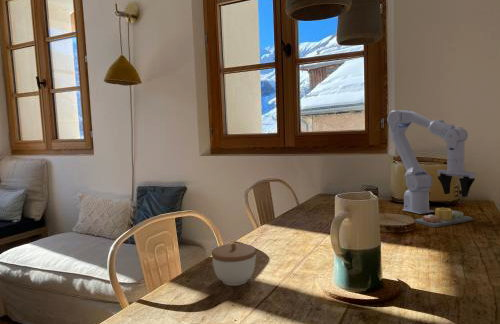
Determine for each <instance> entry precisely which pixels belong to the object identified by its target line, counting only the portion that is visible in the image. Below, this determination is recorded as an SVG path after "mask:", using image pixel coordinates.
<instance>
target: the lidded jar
mask: <svg viewBox="0 0 500 324" xmlns="http://www.w3.org/2000/svg"><path fill="white" fill-rule="evenodd" d="M256 254H257V251H256V248H255V247H254V246H253V245H251V244H248V243H247V244H246V243H236V242H231V243H228V244H223V245H218V246H217V247H215V248H213V249H212V250H211V258H212V267H213V270H214V273H215V275H216V276H217V278H218V279H219V280H220V281H222V283H223V284H224V285H225V286H230V287H231V286H232V287H234V286H241V285H245V284H246V283H247V282H248V280H250V278H251V276H252V275H253V273H254V272H255V269H256V268H255V266H256Z"/></svg>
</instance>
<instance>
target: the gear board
mask: <svg viewBox="0 0 500 324" xmlns="http://www.w3.org/2000/svg"><path fill="white" fill-rule="evenodd" d="M473 218H474V217H471V216H468V215H467V216H466V215H465V213H464V212H462V211H458V210H452V219H451V220H440V217H438V216H435V214H428V215H424V214H423V216H422V217H421V218H415V219H414V220H413V222H414V221H415V222H414V223H415V224H419V225H424V226H427V227H430V228H431V227H432V228H438V227H445V226H449V225H454V224H459V223H465V222H470V221H474V220H473Z"/></svg>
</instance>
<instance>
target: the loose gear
mask: <svg viewBox="0 0 500 324" xmlns="http://www.w3.org/2000/svg"><path fill="white" fill-rule="evenodd" d="M452 211H453V209H451V208H449V207H436V208H435V209H434V216H438V217H440V220H451V219H452Z"/></svg>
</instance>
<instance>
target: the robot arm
mask: <svg viewBox="0 0 500 324" xmlns="http://www.w3.org/2000/svg"><path fill="white" fill-rule="evenodd" d="M386 121H387V123H388V126H389V127H388V128H389V135H390V137H391V140H392V142H393V144H394V146H395V148H396V150H397V153H398V155H399V157H400V159H401V162H402V163H403V165H404V168H405V170H406V172H405V174H404V178H405V185H406V187H407V190H405V192H404V194H403V209H402V211H405V212H409V213H413V214H417V215H418V214H419V215H424V214H429V213H435V210H432V209H430V203H429V190H430V191H431V187H432V186H433V181H434V180H433V178H432V176H431V175H430V174H429V173H428V172H427V170H426V169H425V168H424V167H422V166H421V165H420V163H419V161H418V159H417V157H416V155H415V153H414V151H413V149H412V146H411V144H410V143H409V140H408V138H407V136H406V131H407V130H408V128H409V127H410V126H411V124H412V123H413V124H416V125H419V126H422V127H424V128H426V129H428V130H429V133H430V134H431V135H432V134H433V135H434V136H437V137H439V138H441V139H443V140H444V141H445V142H446V152H447V153H446V154H447V155H446V160H447V161H446V169H437V175H438V176H437V179H438V180H439V182H440V184H441V187H442V190H443V193H444V195H450V193H451V183H452V179H453V177H459V178H458V181H459V184H460V188H461V189H460V191H461V192H460V193H461V197H462V198H466V197H468V195H469V192H470V188H471V186H472V185H473V184H474V182H475V180H476V172H471V171H467V170H466V171H465V142H466V140H467V139H468V137H469V135H468V131H467V130H466V129H465V128H464V127H461V126H459V127H456V126H455V125H456V124H449V123H448V122H445V120H444V119H441V118H440V119H435V120H431V119H430V118H428V117H426V116H424V115H422V114H419V113H418V112H416V111H413V110H409V109H405V110H404V109H401V110H400V109H399V110H398V109H392V110H391V111H390V112H389V114H388V116H387V119H386Z"/></svg>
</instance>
